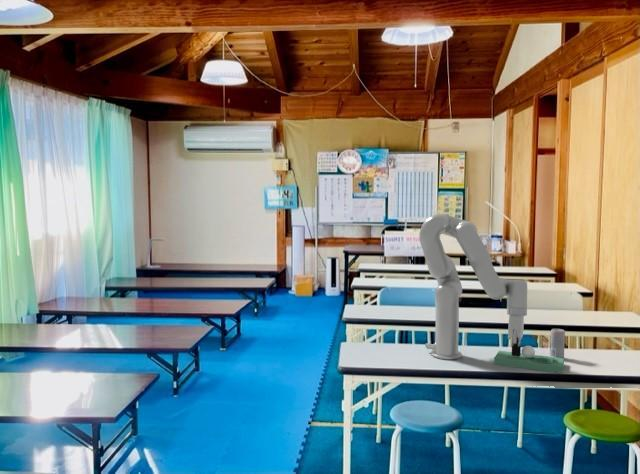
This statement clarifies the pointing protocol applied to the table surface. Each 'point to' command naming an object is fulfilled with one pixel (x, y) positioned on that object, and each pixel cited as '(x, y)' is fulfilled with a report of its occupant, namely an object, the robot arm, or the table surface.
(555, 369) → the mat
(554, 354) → the energy drink
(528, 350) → the ball
